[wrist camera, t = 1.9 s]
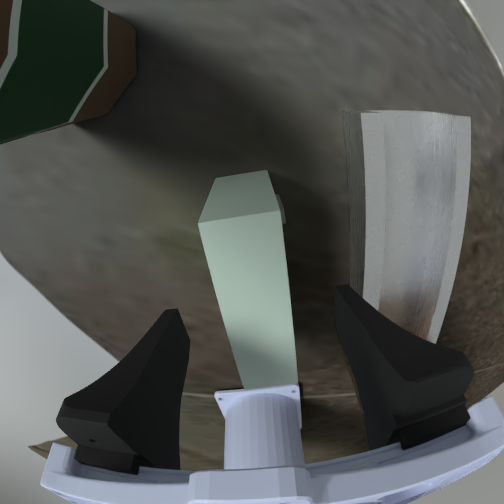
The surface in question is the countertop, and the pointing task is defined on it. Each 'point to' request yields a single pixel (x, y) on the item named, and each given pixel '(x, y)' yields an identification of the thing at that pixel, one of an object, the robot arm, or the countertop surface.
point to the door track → (406, 212)
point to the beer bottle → (60, 64)
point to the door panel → (251, 276)
